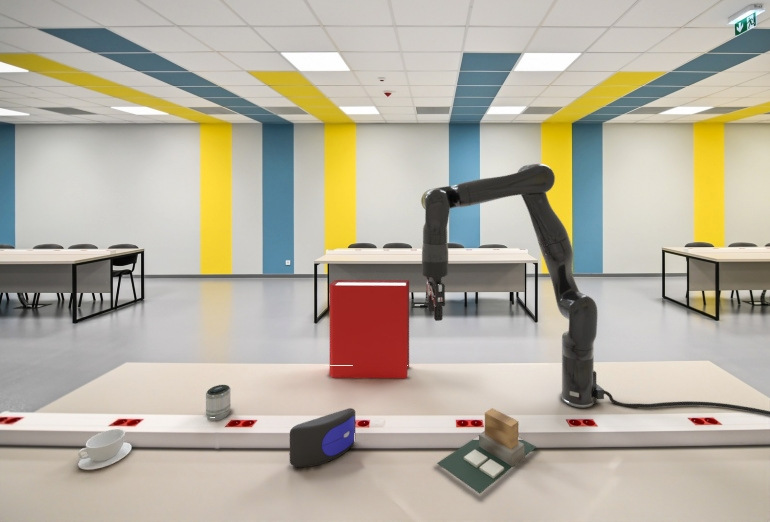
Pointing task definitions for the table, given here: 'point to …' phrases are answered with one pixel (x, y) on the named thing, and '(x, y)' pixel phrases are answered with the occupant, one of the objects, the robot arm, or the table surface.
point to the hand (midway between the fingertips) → (435, 315)
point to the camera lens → (218, 402)
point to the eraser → (501, 437)
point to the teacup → (104, 449)
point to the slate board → (470, 472)
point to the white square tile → (475, 458)
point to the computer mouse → (322, 438)
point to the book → (369, 328)
